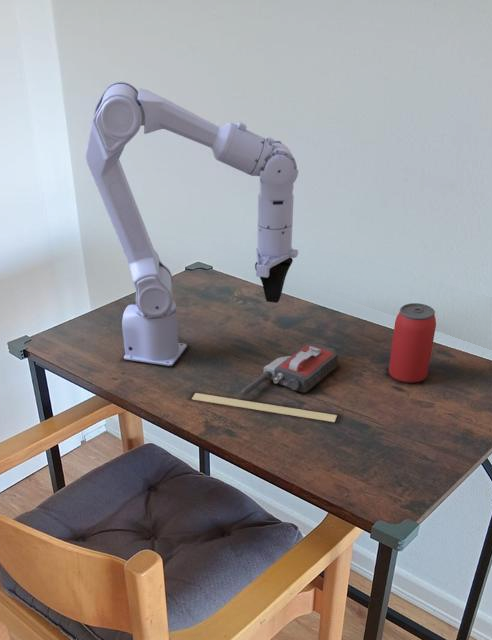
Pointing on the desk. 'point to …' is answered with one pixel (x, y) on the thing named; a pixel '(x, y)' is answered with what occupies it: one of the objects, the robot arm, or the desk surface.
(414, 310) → the beer can
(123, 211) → the robot arm
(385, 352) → the desk surface
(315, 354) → the walkie-talkie
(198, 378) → the desk surface
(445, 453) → the desk surface
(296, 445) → the desk surface
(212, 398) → the tape line
